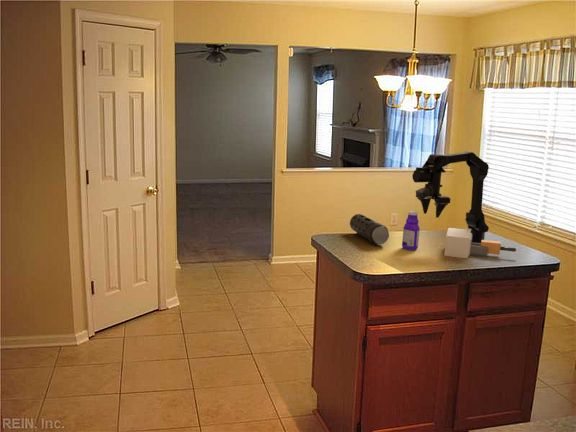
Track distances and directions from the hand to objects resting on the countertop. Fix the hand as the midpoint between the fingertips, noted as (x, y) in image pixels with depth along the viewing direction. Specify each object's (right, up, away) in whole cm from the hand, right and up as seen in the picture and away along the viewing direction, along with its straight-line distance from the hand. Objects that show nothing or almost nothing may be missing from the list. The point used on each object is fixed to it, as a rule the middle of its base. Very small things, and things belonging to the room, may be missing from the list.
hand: (431, 215), depth 272 cm
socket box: (+14, -17, -7) cm, 23 cm away
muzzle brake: (-28, -12, +11) cm, 32 cm away
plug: (+27, -17, -11) cm, 34 cm away
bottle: (-11, -15, -3) cm, 19 cm away
